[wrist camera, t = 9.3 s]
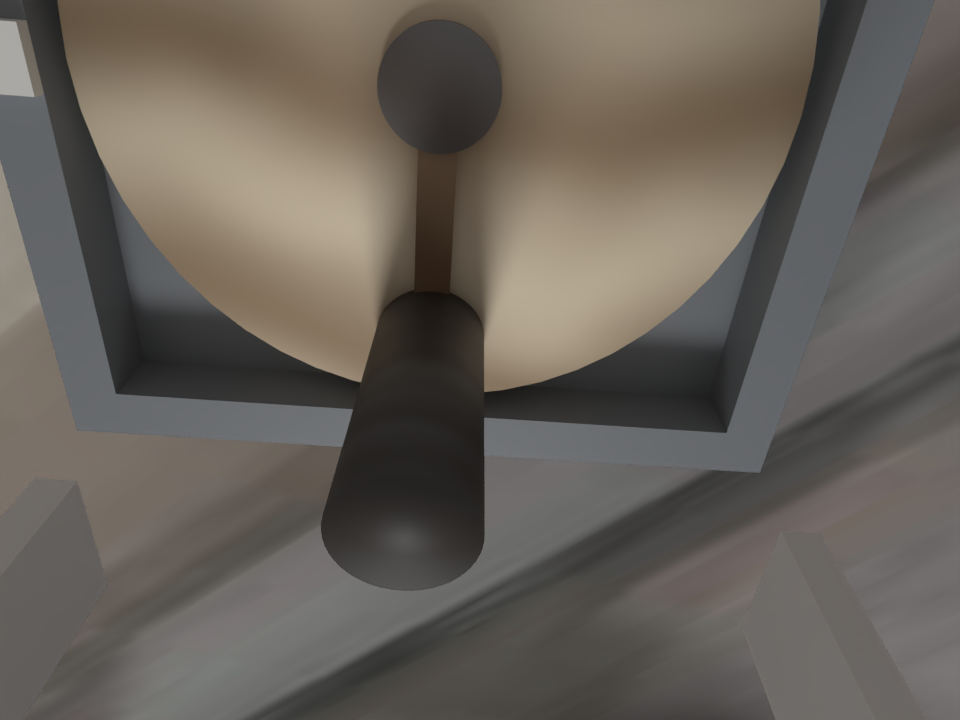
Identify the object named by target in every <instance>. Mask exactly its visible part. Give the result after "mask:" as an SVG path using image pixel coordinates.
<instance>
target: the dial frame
mask: <svg viewBox="0 0 960 720" xmlns="http://www.w3.org/2000/svg"><path fill="white" fill-rule="evenodd" d="M934 1H935V0H820V16H819V25H818V33H817V42H816V50H815V59H814V66H813V70H812V74H811V79H810V83H809V87H808V91H807V95H806V99H805V104H804V108H803V112H802V116H801V119H800V122H799V124H798V127H797V130H796V133H795V135H794V138H793V141H792V143H791V146H790V149H789V152H788V154H787V157H786V160H785V163H784V165H783V167H782V169H781V171H780V173H779V175H778V177H777V179H776V181H775V183H774V185H773V187H772V189H771V191H770V193H769V195H768V197H767V199H766V201H765V203H764V205H763V206H762V208H761V210H760V211H759V213H758V214H757V216H756V217H755V219H754V220H753V222H752V223H751V225H750V226H749V228H748V229H747V231H746V232H745V234H744V236H743V237H742V239H741V240H740V242H739V243H738V245H737V246H736V247H735V248H734V250H733V251H732V252H731V253H730V254H729V256H728V257H727V258H726V259H725V260H724V262H723V263H722V264H721V265H720V266H719V268H718V269H717V270H716V271H715V272H714V274H713V275H712V276H711V277H710V278H709V279H708V280H707V281H706V282H705V283H704V284H703V285H702V286H701V287H700V288H699V289H698V290H697V291H696V292H695V293H694V294H693V295H692V296H691V297H690V298H689V299H688V300H687V301H686V302H685V303H684V304H683V305H681V306H680V307H679V308H678V309H677V310H676V311H674V312H673V313H672V314H670V315H669V316H668V317H667V318H665V319H664V320H663V321H661V322H660V323H659V324H657V325H656V326H655V327H654V328H652V329H651V330H650V331H648V332H647V333H646V334H644V335H642V336H641V337H639V338H637V339H636V340H634V341H632V342H631V343H629V344H627V345H626V346H624V347H622V348H621V349H619V350H617V351H616V352H614V353H612V354H610V355H608V356H606V357H604V358H602V359H600V360H597V361H595V362H593V363H591V364H589V365H587V366H584V367H582V368H580V369H578V370H575V371H572V372H569V373H566V374H563V375H560V376H557V377H554V378H551V379H548V380H545V381H542V382H539V383H534V384H529V385H525V386H520V387H515V388H511V389H506V390H499V391H489V392H484V456H499V457H515V458H531V459H547V460H563V461H579V462H595V463H611V464H628V465H644V466H660V467H676V468H692V469H708V470H724V471H740V472H757V473H760V470H761V468H762V465H763V462H764V460H765V457H766V454H767V452H768V449H769V446H770V443H771V441H772V438H773V435H774V433H775V430H776V427H777V425H778V422H779V419H780V416H781V414H782V411H783V408H784V406H785V403H786V400H787V398H788V395H789V392H790V389H791V387H792V384H793V381H794V379H795V376H796V373H797V371H798V368H799V365H800V362H801V360H802V357H803V354H804V352H805V349H806V346H807V344H808V341H809V338H810V335H811V333H812V330H813V327H814V325H815V322H816V319H817V317H818V314H819V311H820V308H821V306H822V303H823V300H824V298H825V295H826V292H827V290H828V287H829V284H830V281H831V279H832V276H833V273H834V271H835V268H836V265H837V263H838V260H839V257H840V254H841V252H842V249H843V246H844V244H845V241H846V238H847V235H848V233H849V230H850V227H851V225H852V222H853V219H854V217H855V214H856V211H857V208H858V206H859V203H860V200H861V198H862V195H863V192H864V190H865V187H866V184H867V181H868V179H869V176H870V173H871V171H872V168H873V165H874V163H875V160H876V157H877V154H878V152H879V149H880V146H881V144H882V141H883V138H884V136H885V133H886V130H887V127H888V125H889V122H890V119H891V117H892V114H893V111H894V109H895V106H896V103H897V100H898V98H899V95H900V92H901V90H902V87H903V84H904V82H905V79H906V76H907V73H908V71H909V68H910V65H911V63H912V60H913V57H914V55H915V52H916V49H917V46H918V44H919V41H920V38H921V36H922V33H923V30H924V28H925V25H926V22H927V19H928V17H929V14H930V11H931V9H932V6H933V3H934ZM0 160H1V164H2V167H3V171H4V174H5V178H6V181H7V185H8V188H9V192H10V195H11V199H12V202H13V206H14V209H15V213H16V216H17V220H18V224H19V227H20V231H21V234H22V238H23V241H24V245H25V248H26V252H27V255H28V259H29V262H30V266H31V269H32V273H33V276H34V280H35V283H36V287H37V290H38V294H39V298H40V301H41V305H42V308H43V312H44V315H45V319H46V322H47V326H48V329H49V333H50V336H51V340H52V343H53V347H54V350H55V354H56V357H57V361H58V364H59V368H60V371H61V375H62V379H63V382H64V386H65V389H66V393H67V396H68V400H69V403H70V407H71V410H72V414H73V417H74V421H75V424H76V428H77V430H79V431H95V432H111V433H128V434H144V435H160V436H176V437H192V438H208V439H224V440H240V441H257V442H273V443H289V444H305V445H321V446H337V447H343V443H344V440H345V436H346V433H347V429H348V426H349V422H350V419H351V415H352V412H353V408H354V405H355V401H356V398H357V394H358V391H359V387H360V384H361V382H357V381H353V380H350V379H347V378H344V377H341V376H339V375H336V374H333V373H330V372H327V371H324V370H321V369H318V368H316V367H313V366H311V365H309V364H307V363H305V362H303V361H301V360H299V359H296V358H294V357H292V356H290V355H288V354H286V353H284V352H282V351H280V350H278V349H276V348H275V347H273V346H271V345H270V344H268V343H266V342H265V341H263V340H261V339H260V338H258V337H256V336H255V335H253V334H252V333H250V332H248V331H247V330H245V329H244V328H242V327H241V326H240V325H238V324H237V323H236V322H234V321H233V320H232V319H231V318H229V317H228V316H227V315H225V314H224V313H223V312H221V311H220V310H219V309H217V308H216V307H215V306H213V305H212V304H211V303H210V302H209V301H208V300H207V299H206V298H205V297H203V296H202V295H201V294H200V293H199V292H198V291H197V290H196V289H195V288H194V287H193V286H192V285H191V284H190V283H189V282H188V281H187V280H185V279H184V278H183V277H182V276H181V275H180V274H179V273H178V272H177V270H176V269H175V268H174V267H173V266H172V265H171V263H170V262H169V261H168V260H167V259H166V258H165V256H164V255H163V254H162V253H161V252H160V251H159V249H158V248H157V247H156V246H155V245H154V244H153V242H152V241H151V240H150V239H149V237H148V236H147V234H146V233H145V231H144V230H143V229H142V227H141V226H140V224H139V223H138V221H137V220H136V218H135V217H134V215H133V214H132V213H131V211H130V210H129V208H128V207H127V205H126V204H125V202H124V201H123V199H122V197H121V195H120V194H119V192H118V190H117V188H116V186H115V184H114V182H113V181H112V179H111V177H110V175H109V173H108V171H107V169H106V168H105V166H104V164H103V162H102V160H101V158H100V156H99V154H98V151H97V149H96V146H95V144H94V141H93V139H92V137H91V134H90V132H89V129H88V127H87V124H86V122H85V119H84V117H83V114H82V112H81V109H80V106H79V102H78V99H77V95H76V91H75V88H74V84H73V81H72V77H71V74H70V70H69V66H68V63H67V59H66V54H65V47H64V41H63V35H62V28H61V22H60V16H59V10H58V2H57V0H0Z"/></svg>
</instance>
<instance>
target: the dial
mask: <svg viewBox="0 0 960 720" xmlns="http://www.w3.org/2000/svg"><path fill="white" fill-rule="evenodd" d="M57 2H58V10H59V16H60V22H61V28H62V35H63V41H64V47H65V54H66V59H67V63H68V66H69V70H70V74H71V77H72V81H73V84H74V88H75V91H76V95H77V99H78V102H79V106H80V109H81V112H82V114H83V117H84V119H85V122H86V124H87V127H88V129H89V132H90V134H91V137H92V139H93V141H94V144H95V146H96V149H97V151H98V154H99V156H100V158H101V160H102V162H103V164H104V166H105V168H106V169H107V171H108V173H109V175H110V177H111V179H112V181H113V182H114V184H115V186H116V188H117V190H118V192H119V194H120V195H121V197H122V199H123V201H124V202H125V204H126V205H127V207H128V208H129V210H130V211H131V213H132V214H133V215H134V217H135V218H136V220H137V221H138V223H139V224H140V226H141V227H142V229H143V230H144V231H145V233H146V234H147V236H148V237H149V239H150V240H151V241H152V242H153V244H154V245H155V246H156V247H157V248H158V249H159V251H160V252H161V253H162V254H163V255H164V256H165V258H166V259H167V260H168V261H169V262H170V263H171V265H172V266H173V267H174V268H175V269H176V270H177V272H178V273H179V274H180V275H181V276H182V277H183V278H184V279H185V280H187V281H188V282H189V283H190V284H191V285H192V286H193V287H194V288H195V289H196V290H197V291H198V292H199V293H200V294H201V295H202V296H203V297H205V298H206V299H207V300H208V301H209V302H210V303H211V304H212V305H213V306H215V307H216V308H217V309H219V310H220V311H221V312H223V313H224V314H225V315H227V316H228V317H229V318H231V319H232V320H233V321H234V322H236V323H237V324H238V325H240V326H241V327H242V328H244V329H245V330H247V331H248V332H250V333H252V334H253V335H255V336H256V337H258V338H260V339H261V340H263V341H265V342H266V343H268V344H270V345H271V346H273V347H275V348H276V349H278V350H280V351H282V352H284V353H286V354H288V355H290V356H292V357H294V358H296V359H299V360H301V361H303V362H305V363H307V364H309V365H311V366H313V367H316V368H318V369H321V370H324V371H327V372H330V373H333V374H336V375H339V376H341V377H344V378H347V379H350V380H353V381H357V382H361V384H360V387H359V391H358V394H357V398H356V401H355V405H354V408H353V412H352V415H351V419H350V422H349V426H348V429H347V433H346V436H345V440H344V443H343V447H342V450H341V453H340V457H339V460H338V464H337V467H336V471H335V474H334V478H333V481H332V485H331V488H330V492H329V495H328V499H327V502H326V506H325V509H324V513H323V517H322V522H321V533H322V539H323V542H324V545H325V547H326V549H327V551H328V553H329V554H330V556H331V557H332V558H333V560H334V561H335V562H336V563H337V564H338V565H339V566H340V567H341V568H343V569H344V570H345V571H346V572H348V573H349V574H351V575H352V576H354V577H355V578H357V579H359V580H361V581H363V582H366V583H369V584H371V585H374V586H378V587H381V588H386V589H391V590H401V591H414V590H424V589H430V588H434V587H437V586H441V585H443V584H446V583H449V582H451V581H453V580H454V579H456V578H458V577H459V576H461V575H462V574H464V573H465V572H466V571H467V570H468V569H469V568H471V566H472V565H473V564H474V563H475V562H476V560H477V558H478V557H479V555H480V553H481V550H482V548H483V544H484V392H489V391H499V390H506V389H511V388H515V387H520V386H525V385H529V384H534V383H539V382H542V381H545V380H548V379H551V378H554V377H557V376H560V375H563V374H566V373H569V372H572V371H575V370H578V369H580V368H582V367H584V366H587V365H589V364H591V363H593V362H595V361H597V360H600V359H602V358H604V357H606V356H608V355H610V354H612V353H614V352H616V351H617V350H619V349H621V348H622V347H624V346H626V345H627V344H629V343H631V342H632V341H634V340H636V339H637V338H639V337H641V336H642V335H644V334H646V333H647V332H648V331H650V330H651V329H652V328H654V327H655V326H656V325H657V324H659V323H660V322H661V321H663V320H664V319H665V318H667V317H668V316H669V315H670V314H672V313H673V312H674V311H676V310H677V309H678V308H679V307H680V306H681V305H683V304H684V303H685V302H686V301H687V300H688V299H689V298H690V297H691V296H692V295H693V294H694V293H695V292H696V291H697V290H698V289H699V288H700V287H701V286H702V285H703V284H704V283H705V282H706V281H707V280H708V279H709V278H710V277H711V276H712V275H713V274H714V272H715V271H716V270H717V269H718V268H719V266H720V265H721V264H722V263H723V262H724V260H725V259H726V258H727V257H728V256H729V254H730V253H731V252H732V251H733V250H734V248H735V247H736V246H737V245H738V243H739V242H740V240H741V239H742V237H743V236H744V234H745V232H746V231H747V229H748V228H749V226H750V225H751V223H752V222H753V220H754V219H755V217H756V216H757V214H758V213H759V211H760V210H761V208H762V206H763V205H764V203H765V201H766V199H767V197H768V195H769V193H770V191H771V189H772V187H773V185H774V183H775V181H776V179H777V177H778V175H779V173H780V171H781V169H782V167H783V165H784V163H785V160H786V157H787V154H788V152H789V149H790V146H791V143H792V141H793V138H794V135H795V133H796V130H797V127H798V124H799V122H800V119H801V116H802V112H803V108H804V104H805V99H806V95H807V91H808V87H809V83H810V79H811V74H812V70H813V66H814V59H815V50H816V42H817V33H818V25H819V16H820V0H57Z"/></svg>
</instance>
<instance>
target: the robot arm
mask: <svg viewBox="0 0 960 720" xmlns="http://www.w3.org/2000/svg"><path fill="white" fill-rule="evenodd" d="M106 586H107V582H106V578H105V575H104V571H103V568H102V564H101V561H100V557H99V554H98V551H97V547H96V544H95V540H94V537H93V533H92V530H91V526H90V523H89V520H88V516H87V513H86V509H85V506H84V502H83V499H82V495H81V492H80V489H79V485H78V482H77V481H69V480H55V479H41V478H35V479H34V480H33V481H32V482H31V484H30V485H29V486H28V487H27V488H26V489H25V490H24V491H23V493H22V494H21V495H20V496H19V497H18V498H17V499H16V500H15V501H14V503H13V504H12V505H11V506H10V507H9V508H8V509H7V510H6V512H5V513H4V514H3V515H2V516H1V517H0V720H23V719H24V718H25V716H26V714H27V713H28V711H29V710H30V708H31V706H32V705H33V703H34V702H35V700H36V698H37V697H38V695H39V694H40V692H41V690H42V689H43V687H44V686H45V684H46V682H47V681H48V679H49V678H50V676H51V674H52V673H53V671H54V670H55V668H56V666H57V665H58V663H59V662H60V660H61V658H62V657H63V655H64V654H65V652H66V650H67V649H68V647H69V646H70V644H71V642H72V641H73V639H74V638H75V636H76V634H77V633H78V631H79V630H80V628H81V626H82V625H83V623H84V622H85V620H86V618H87V617H88V615H89V614H90V612H91V610H92V609H93V607H94V606H95V604H96V602H97V601H98V599H99V598H100V596H101V594H102V593H103V591H104V590H105V588H106ZM741 628H742V631H743V633H744V636H745V639H746V642H747V644H748V647H749V650H750V652H751V655H752V658H753V661H754V663H755V666H756V669H757V671H758V674H759V677H760V679H761V682H762V685H763V688H764V690H765V693H766V696H767V698H768V701H769V704H770V707H771V709H772V712H773V715H774V717H775V720H927V719H926V717H925V715H924V714H923V712H922V710H921V708H920V707H919V705H918V703H917V701H916V700H915V698H914V696H913V694H912V693H911V691H910V689H909V687H908V686H907V684H906V682H905V680H904V679H903V677H902V675H901V673H900V672H899V670H898V668H897V666H896V665H895V663H894V661H893V659H892V658H891V656H890V654H889V652H888V650H887V649H886V647H885V645H884V643H883V642H882V640H881V638H880V636H879V635H878V633H877V631H876V629H875V628H874V626H873V624H872V622H871V621H870V619H869V617H868V615H867V614H866V612H865V610H864V608H863V607H862V605H861V603H860V601H859V600H858V598H857V596H856V594H855V593H854V591H853V589H852V587H851V586H850V584H849V582H848V580H847V579H846V577H845V575H844V573H843V572H842V570H841V568H840V566H839V565H838V563H837V561H836V559H835V558H834V556H833V554H832V552H831V550H830V549H829V547H828V545H827V543H826V542H825V540H824V538H823V536H822V535H821V534H818V533H804V532H790V531H781V532H780V534H779V536H778V539H777V541H776V544H775V546H774V549H773V551H772V554H771V556H770V559H769V561H768V563H767V566H766V568H765V571H764V573H763V576H762V578H761V581H760V583H759V586H758V588H757V590H756V593H755V595H754V598H753V600H752V603H751V605H750V608H749V610H748V613H747V615H746V618H745V620H744V622H743V625H742V627H741Z"/></svg>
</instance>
